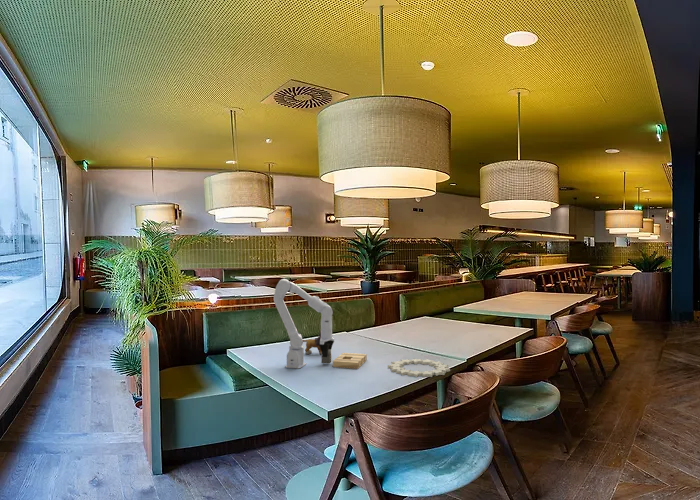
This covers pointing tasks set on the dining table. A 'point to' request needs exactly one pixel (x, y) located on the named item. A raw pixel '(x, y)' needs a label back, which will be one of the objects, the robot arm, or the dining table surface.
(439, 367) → the decorative wreath
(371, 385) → the dining table surface
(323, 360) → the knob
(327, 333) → the robot arm
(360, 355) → the hub plate
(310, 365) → the dining table surface
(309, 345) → the figurine
